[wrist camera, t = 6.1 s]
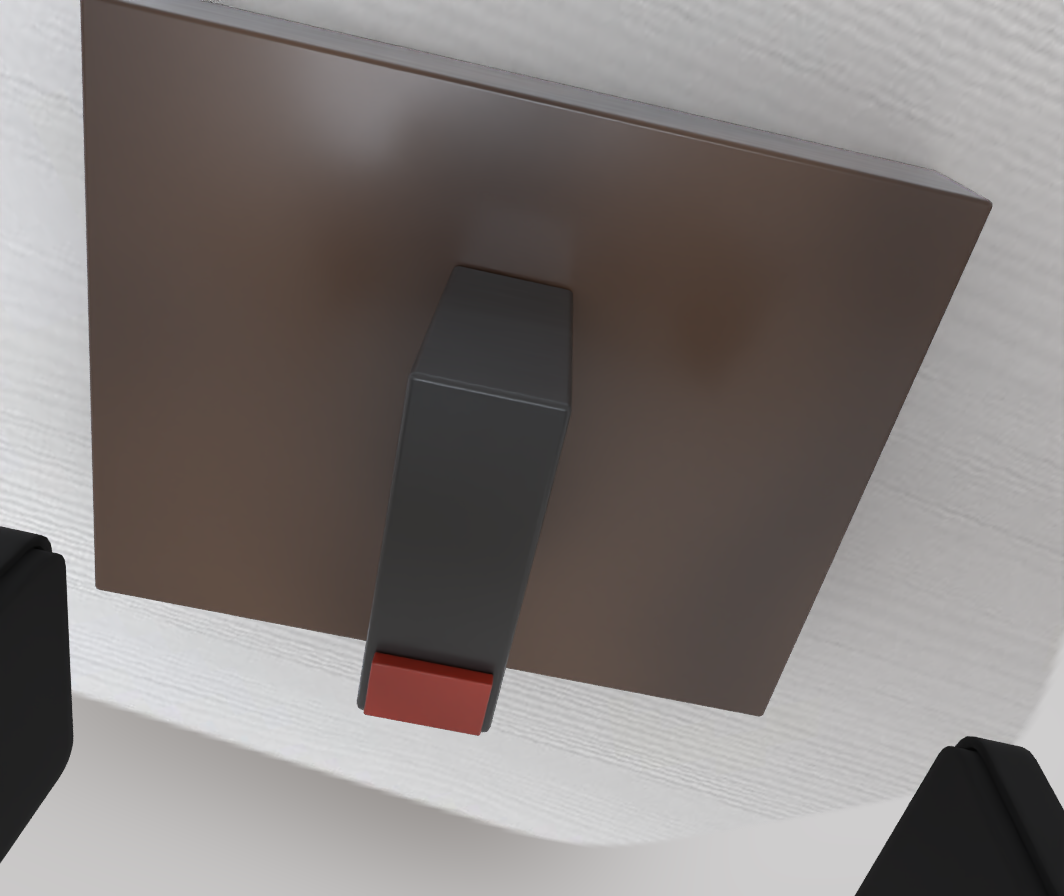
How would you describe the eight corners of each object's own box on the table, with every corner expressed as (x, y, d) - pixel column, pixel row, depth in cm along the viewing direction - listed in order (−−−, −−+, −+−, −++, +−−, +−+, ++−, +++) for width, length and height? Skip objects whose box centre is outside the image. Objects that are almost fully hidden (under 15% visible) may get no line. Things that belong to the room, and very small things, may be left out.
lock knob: (454, 263, 15) (404, 381, 10) (574, 289, 15) (573, 416, 10) (406, 539, 17) (351, 723, 13) (509, 559, 17) (487, 748, 13)
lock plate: (939, 170, 16) (997, 202, 14) (743, 641, 21) (763, 719, 19) (149, -13, 15) (77, -10, 13) (145, 523, 20) (93, 590, 18)
